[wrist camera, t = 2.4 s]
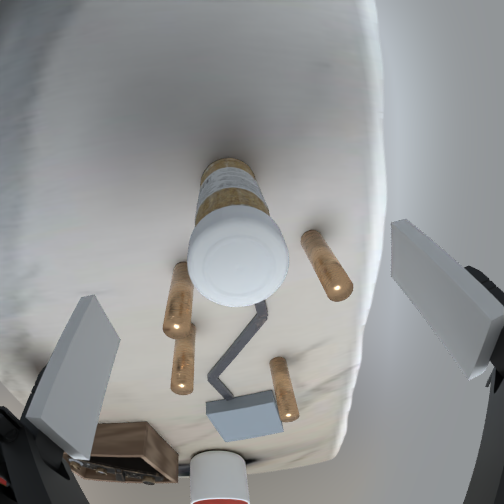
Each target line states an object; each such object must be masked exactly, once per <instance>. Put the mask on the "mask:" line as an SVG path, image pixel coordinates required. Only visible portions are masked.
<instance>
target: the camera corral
mask: <svg viewBox="0 0 504 504" xmlns="http://www.w3.org/2000/svg"><path fill="white" fill-rule="evenodd" d="M90 456H99V457H141V458H142V459H144V460H145V461H146V462H147V463H148V464H150V465H151V466H152V467H153V468H155V469H156V470H157V471H158V472H160V473H161V474H162V475H163V477H164V480H163V481H155V483H178V454H177V453H176V452H175V451H174V450H173V449H172V448H171V447H170V446H169V445H168V444H167V443H166V442H165V441H164V440H163V439H162V438H161V437H160V436H159V434H158V433H157V432H156V431H155V430H154V429H153V428H152V427H151V426H150V425H149V424H148V423H147V422H133V423H111V424H97V427H96V432H95V436H94V441H93V445H92V450H91V455H90ZM63 458H64V459H65V460H66V461H67V463H68V464H69V466H70V461H68V459H67V458H68V454H67V453H66V452H64V453H63ZM70 468H71V470H72V472H74V473H75V474H77V475H78V476H80V477H81V478H83V479H88V480H96V481H109V482H121V481H116V476H115V474H111V473H107V475H101V474H98V473H97V472H96V470H94V469H93V470H92V469H90V468H86V467H82V466H81V468H80V470H77V469H74V468H72V467H71V466H70ZM142 481H143V479H137V478H132V477H130V478H129V477H126V479H125V482H124V483H143V482H142Z"/></svg>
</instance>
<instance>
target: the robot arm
mask: <svg viewBox="0 0 504 504" xmlns="http://www.w3.org/2000/svg"><path fill="white" fill-rule="evenodd" d="M391 245H392V247H391V277H392V278H393V279H394V281H396V283H397V284H398V285H399V287H400V288H401V289H402V290H403V292H404V293H405V294H406V295H407V297H408V298H409V299H410V301H411V302H412V303H413V304H414V306H415V307H416V308H417V310H418V311H419V312H420V314H421V315H422V316H423V317H424V319H425V320H426V322H427V323H428V324H429V325H430V327H431V328H432V330H433V331H434V332H435V333H436V335H437V336H438V338H439V339H440V340H441V342H442V343H443V345H444V346H445V348H446V349H447V351H448V352H449V353H450V355H451V356H452V358H453V359H454V361H455V362H456V363H457V365H458V366H459V368H460V369H461V371H462V372H463V374H464V375H465V377H466V378H467V380H468V381H469V380H471V379H473V378H474V377H476V376H478V375H480V374H482V373H484V372H485V370H486V367H487V365H488V363H489V361H491V363H492V364H493V365H494V369H493V371H492V373H491V375H490V377H489V379H488V381H487V384H486V387H488V386H489V384H490V382H491V387H490V395H489V402H488V408H487V414H486V420H485V425H484V430H483V435H482V440H481V444H480V449H479V453H478V457H477V460H476V464H475V468H474V471H473V475H472V478H471V481H470V485H469V488H468V491H467V494H466V497H465V500H464V502H463V504H504V293H503V291H501V290H500V289H499V288H498V287H496V285H495V284H494V283H493V282H492V281H490V280H489V278H488V277H487V276H485V275H484V274H483V273H482V272H481V271H479V270H477V269H475V268H473V267H471V266H467V267H462V266H461V265H460V264H459V263H458V262H457V261H456V260H455V259H453V258H452V257H451V256H450V255H449V254H448V253H447V252H446V251H444V250H443V249H442V248H441V247H440V246H438V245H437V244H436V243H435V242H434V241H433V240H432V239H430V238H429V237H428V236H426V234H424V233H423V232H422V231H421V230H419V229H418V228H417V227H416V226H415V225H413V224H412V223H411V222H410V221H408V220H407V219H403V220H399V221H396V222H392V223H391ZM120 340H121V339H120V338H119V336H118V334H117V333H116V331H115V329H114V328H113V326H112V324H111V323H110V321H109V319H108V318H107V316H106V314H105V312H104V311H103V309H102V307H101V305H100V303H99V302H98V300H97V298H96V296H95V294H94V295H90V296H86V297H81V299H80V301H79V303H78V304H77V306H76V308H75V310H74V312H73V314H72V316H71V318H70V319H69V321H68V323H67V325H66V327H65V329H64V331H63V333H62V335H61V337H60V339H59V341H58V343H57V345H56V347H55V349H54V351H53V354H52V356H51V358H50V360H49V362H48V364H47V365H46V366H45V367H44V368H43V370H42V371H41V372H40V373H39V375H38V377H37V380H36V382H35V386H34V387H33V389H32V391H31V392H32V394H30V396H29V398H28V401H27V403H26V406H25V408H24V411H23V413H22V416H21V419H20V420H19V419H17V418H16V417H15V416H14V415H13V414H12V413H11V412H10V411H9V410H8V409H7V408H5V407H4V406H2V407H1V406H0V477H1V478H2V479H4V480H5V481H6V486H4V485H2V484H1V483H0V504H89V502H88V500H87V499H86V497H85V495H84V493H83V491H82V490H81V488H80V486H79V484H78V482H77V480H76V478H75V476H74V474H73V473H72V470H71V468H70V466H69V464H68V463H67V461H66V460H65V459H64V458H63V453H64V452H66V453H67V454H68V455H69V456H71V457H72V458H73V459H81V460H90V455H91V450H92V445H93V441H94V436H95V432H96V427H97V423H98V419H99V415H100V411H101V407H102V403H103V399H104V395H105V392H106V388H107V384H108V381H109V377H110V374H111V370H112V367H113V363H114V360H115V356H116V353H117V350H118V347H119V343H120Z"/></svg>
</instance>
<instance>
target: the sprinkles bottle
mask: <svg viewBox="0 0 504 504" xmlns="http://www.w3.org/2000/svg"><path fill="white" fill-rule="evenodd" d="M200 186H201V188H200V192H199V197H198V203H197V210H196V216H195V228H194V230H193V232H192V234H191V237H190V241H189V247H188V257H187V268H188V273H189V276H190V279H191V281H192V283H193V285H194V286H195V288H196V289H197V290H198V291H199V292H200V293H201V294H202V295H203V296H204V297H206V298H207V299H209V300H211V301H212V302H215V303H217V304H220V305H224V306H229V307H243V306H249V305H253V304H256V303H259V302H261V301H263V300H265V299H266V298H268V297H269V296H271V295H272V294H273V293H274V292H275V291H276V290H277V289H278V288H279V287H280V286H281V284H282V283H283V281H284V279H285V277H286V275H287V272H288V267H289V253H288V249H287V246H286V243H285V240H284V238H283V235H282V233H281V231H280V229H279V227H278V225H277V224H276V223H275V221H274V220H273V219H272V218H271V217H270V214H269V209H268V206H267V204H266V202H265V200H264V197H263V195H262V193H261V191H260V188H259V186H258V184H257V182H256V179H255V176H254V174H253V172H252V170H251V169H250V167H249V166H248V165H246V164H245V163H244V162H242V161H240V160H238V159H233V158H224V159H220V160H217V161H215V162H214V163H212V164H211V165H209V166H208V168H207V169H206V170H205V172H204V174H203V175H202V178H201V184H200Z"/></svg>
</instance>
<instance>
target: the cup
mask: <svg viewBox="0 0 504 504" xmlns="http://www.w3.org/2000/svg"><path fill="white" fill-rule="evenodd" d="M190 491H191V492H190V493H191V504H250V500H249V491H248V483H247V474H246V465H245V461H244V459H243V458H242V457H241V456H240V455H238V454H236V453H233V452H228V451H207V452H203V453H200V454H197V455H196V456H194V457H193V458H192V460H191V462H190Z"/></svg>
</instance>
